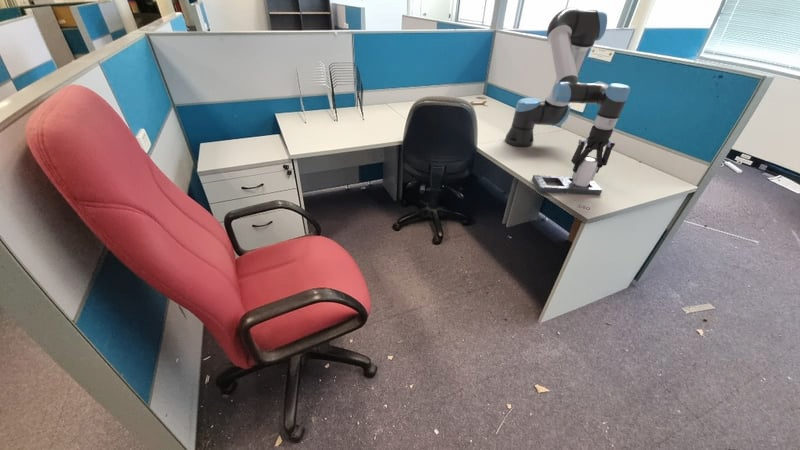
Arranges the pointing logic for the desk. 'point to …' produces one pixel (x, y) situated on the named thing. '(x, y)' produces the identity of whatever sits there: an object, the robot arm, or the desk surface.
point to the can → (586, 172)
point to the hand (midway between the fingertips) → (582, 178)
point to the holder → (564, 185)
